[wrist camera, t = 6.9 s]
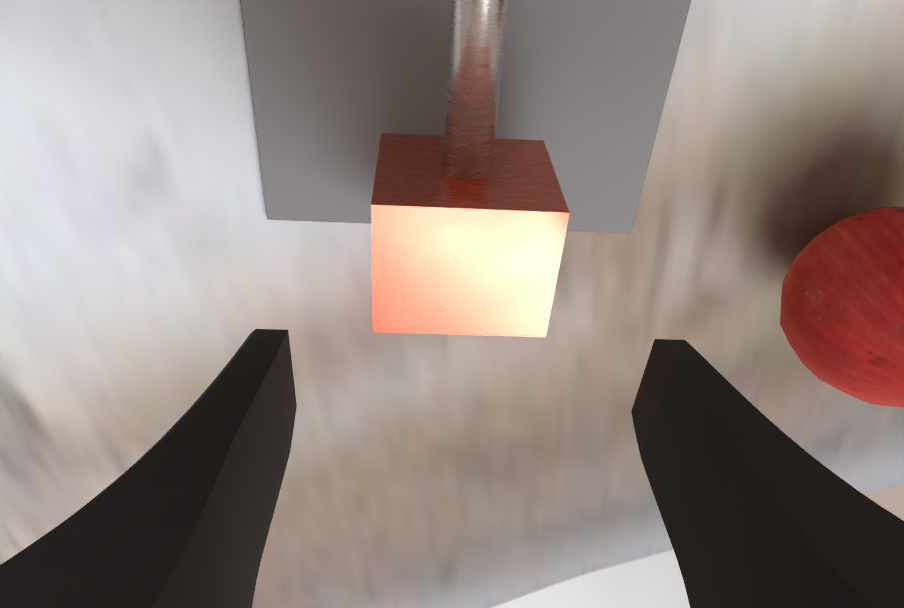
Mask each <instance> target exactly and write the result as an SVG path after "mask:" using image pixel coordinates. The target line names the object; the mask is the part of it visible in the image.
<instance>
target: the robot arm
mask: <svg viewBox="0 0 904 608" xmlns="http://www.w3.org/2000/svg"><path fill="white" fill-rule="evenodd" d="M296 406H297V405H296V397H295V388H294V379H293V370H292V361H291V352H290V344H289V335H288V330H270V329H255V330H254V331H253V332H252V333H251V334H250V335H249V336H248V338H247V339H246V340H245V342H244V343H243V344H242V346H241V347H240V348H239V350H238V351H237V352H236V354H235V355H234V356H233V357H232V359H231V360H230V361H229V363H228V364H227V365H226V366H225V368H224V369H223V370H222V371H221V373H220V374H219V375H218V376H217V377H216V379H215V380H214V381H213V382H212V383H211V385H210V386H209V387H208V388H207V389H206V390H205V391H204V393H203V394H202V395H201V396H200V397H199V398H198V400H197V401H196V402H195V403H194V404H193V405H192V406H191V408H190V409H189V410H188V411H187V412H186V413H185V414H184V415H183V416H182V417H181V418H180V419H179V420H178V421H177V422H176V423H175V425H174V426H173V427H172V428H171V429H170V430H169V431H168V432H167V433H166V434H165V435H164V436H163V437H162V438H161V439H160V440H159V441H158V442H157V443H156V444H155V445H154V446H153V447H152V448H151V449H150V450H149V451H148V452H147V453H146V454H145V455H144V456H142V457H141V458H140V459H139V460H138V461H137V462H136V463H135V464H134V465H133V466H131V467H130V468H129V469H128V470H127V471H126V472H125V473H124V474H122V475H121V476H120V477H119V478H118V479H117V480H116V481H114V482H113V483H112V484H111V485H110V486H108V487H107V488H106V489H105V490H103V491H102V492H101V493H100V494H98V495H97V496H96V497H95V498H94V499H92V500H91V501H90V502H89V503H87V504H86V505H85V506H84V507H82V508H81V509H80V510H79V511H77V512H76V513H75V514H73V515H72V516H71V517H69V518H68V519H67V520H65V521H64V522H63V523H61V524H60V525H59V526H57V527H56V528H54V529H53V530H51V531H50V532H48V533H47V534H46V535H44V536H43V537H41V538H40V539H38V540H37V541H35V542H34V543H33V544H31V545H30V546H28V547H27V548H25V549H24V550H22V551H21V552H19V553H18V554H16V555H15V556H13V557H12V558H10V559H9V560H7V561H6V562H4V563H3V564H1V565H0V608H252V603H253V597H254V591H255V585H256V579H257V575H258V571H259V566H260V562H261V557H262V554H263V550H264V546H265V543H266V539H267V535H268V532H269V528H270V524H271V521H272V517H273V513H274V510H275V506H276V502H277V499H278V495H279V491H280V488H281V484H282V480H283V476H284V473H285V469H286V465H287V461H288V457H289V454H290V448H291V441H292V435H293V428H294V420H295V413H296ZM631 412H632V417H633V422H634V428H635V433H636V438H637V442H638V446H639V451H640V455H641V459H642V462H643V465H644V468H645V471H646V474H647V476H648V479H649V482H650V485H651V488H652V491H653V494H654V496H655V499H656V502H657V505H658V507H659V510H660V513H661V516H662V518H663V521H664V524H665V527H666V530H667V532H668V535H669V538H670V541H671V543H672V546H673V549H674V552H675V554H676V557H677V560H678V563H679V567H680V570H681V573H682V577H683V580H684V583H685V588H686V592H687V596H688V599H689V604H690V608H904V521H903V520H901V519H900V518H898V517H896V516H895V515H893V514H892V513H890V512H889V511H887V510H885V509H884V508H882V507H881V506H879V505H878V504H876V503H875V502H873V501H872V500H870V499H869V498H868V497H866V496H865V495H863V494H862V493H860V492H859V491H857V490H856V489H855V488H853V487H852V486H851V485H849V484H848V483H847V482H845V481H844V480H843V479H841V478H840V477H838V476H837V475H836V474H834V473H833V472H832V471H830V470H829V469H828V468H826V467H825V466H824V465H822V464H821V463H820V462H819V461H817V460H816V459H815V458H813V457H812V456H811V455H810V454H808V453H807V452H806V451H805V450H804V449H802V448H801V447H800V446H799V445H798V444H796V443H795V442H794V441H793V440H792V439H791V438H789V437H788V436H787V435H786V434H785V433H783V432H782V431H781V430H780V429H779V428H778V427H777V426H775V425H774V424H773V423H772V422H771V421H770V420H769V419H768V418H766V417H765V416H764V415H763V414H762V413H761V412H760V411H759V410H758V409H757V408H755V407H754V406H753V405H752V404H751V403H750V402H749V401H748V400H747V399H746V398H745V397H744V396H743V395H742V394H741V393H740V392H738V391H737V390H736V389H735V388H734V387H733V386H732V385H731V384H730V383H729V382H728V381H727V380H726V379H725V378H724V377H723V376H722V375H721V374H720V373H719V372H718V371H717V370H716V369H715V368H714V367H713V366H712V365H711V364H710V363H709V362H708V361H707V360H706V359H704V358H703V357H702V356H701V355H700V354H699V353H698V352H697V351H696V350H695V349H694V348H693V347H692V346H691V345H690V344H689V343H687V342H686V341H685V340H664V339H655V340H654V343H653V346H652V350H651V353H650V356H649V359H648V362H647V365H646V368H645V371H644V374H643V377H642V380H641V383H640V387H639V390H638V393H637V396H636V399H635V402H634V405H633V408H632V411H631Z"/></svg>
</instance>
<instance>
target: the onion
mask: <svg viewBox="0 0 904 608" xmlns="http://www.w3.org/2000/svg"><path fill="white" fill-rule="evenodd" d="M780 325H781V327H782V329H783V331H784V333H785V335H786V337H787V339H788V341H789V343H790V345H791V346H792V348H793V349H794V351H795V352H796V354H797V355H798V357H799V358H800V360H801V361H802V363H803V364H804V365H805V366H806V367H807V368H808V369H809V370H810V371H811V372H812V373H813V374H814V375H816V376H817V377H818V378H819V379H821V380H822V381H824V382H826V383H828V384H829V385H831V386H833V387H835V388H837V389H839V390H841V391H843V392H845V393H847V394H849V395H851V396H853V397H855V398H857V399H860V400H862V401H865V402H868V403H871V404H877V405H883V406H897V407H904V207H879V208H876V209H873V210H869V211H866V212H863V213H860V214H857V215H853V216H850V217H847V218H845V219H843V220H841V221H839V222H838V223H836V224H834V225H833V226H831V227H829V228H828V229H826V230H825V231H823V232H821V233H820V234H818V235H817V236H816V237H815V238H814V239H813V240H812V241H811V242H810V243H809V244H808V245H807V246H806V247H805V248H804V249H803V250H802V251H801V252H800V253H799V254H798V255H797V256H796V257H795V258H794V260H793V262H792V264H791V266H790V268H789V270H788V272H787V274H786V276H785V278H784V280H783V286H782V296H781V319H780Z"/></svg>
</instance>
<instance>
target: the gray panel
mask: <svg viewBox="0 0 904 608" xmlns="http://www.w3.org/2000/svg"><path fill="white" fill-rule="evenodd" d="M240 1H241V9H242V17H243V25H244V34H245V42H246V50H247V58H248V67H249V75H250V83H251V91H252V99H253V108H254V116H255V124H256V132H257V140H258V149H259V157H260V165H261V173H262V182H263V190H264V198H265V206H266V214H267V219H268V220H294V221H321V222H347V223H371V201H372V194H373V187H374V179H375V172H376V165H377V158H378V151H379V144H380V136H381V133H394V134H416V135H437V136H444V130H445V113H446V95H447V78H448V61H449V44H450V26H451V9H452V0H240ZM690 3H691V0H509V9H508V18H507V28H506V37H505V47H504V56H503V65H502V75H501V84H500V93H499V103H498V112H497V121H496V131H495V138H501V139H522V140H543V141H544V142H545V145H546V148H547V151H548V154H549V156H550V159H551V162H552V165H553V167H554V170H555V173H556V176H557V179H558V181H559V184H560V187H561V190H562V193H563V195H564V198H565V201H566V204H567V207H568V209H569V212H570V214H569V219H568V224H567V229H566V231H582V232H608V233H631V229H632V225H633V221H634V217H635V214H636V210H637V206H638V202H639V198H640V194H641V191H642V187H643V183H644V179H645V175H646V171H647V168H648V164H649V160H650V156H651V152H652V148H653V145H654V141H655V137H656V133H657V129H658V125H659V122H660V118H661V114H662V110H663V106H664V102H665V99H666V95H667V91H668V87H669V83H670V79H671V76H672V72H673V68H674V64H675V60H676V56H677V53H678V49H679V45H680V41H681V37H682V33H683V30H684V26H685V22H686V18H687V14H688V10H689V7H690Z"/></svg>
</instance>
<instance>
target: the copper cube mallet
mask: <svg viewBox="0 0 904 608" xmlns="http://www.w3.org/2000/svg"><path fill="white" fill-rule="evenodd" d="M508 9H509V0H452V9H451V26H450V44H449V61H448V78H447V95H446V113H445V130H444V136H437V135H416V134H394V133H381V136H380V144H379V151H378V158H377V165H376V172H375V179H374V187H373V194H372V201H371V246H372V322H373V332H385V333H421V334H456V335H492V336H528V337H546V333H547V328H548V323H549V317H550V312H551V307H552V302H553V297H554V292H555V286H556V281H557V276H558V271H559V266H560V260H561V255H562V250H563V245H564V240H565V234H566V229H567V224H568V219H569V214H570V212H569V209H568V207H567V204H566V201H565V198H564V195H563V193H562V190H561V187H560V184H559V181H558V179H557V176H556V173H555V170H554V167H553V165H552V162H551V159H550V156H549V154H548V151H547V148H546V145H545V142H544V141H543V140H522V139H501V138H495V131H496V121H497V112H498V103H499V93H500V84H501V75H502V65H503V56H504V47H505V37H506V28H507V18H508Z"/></svg>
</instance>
